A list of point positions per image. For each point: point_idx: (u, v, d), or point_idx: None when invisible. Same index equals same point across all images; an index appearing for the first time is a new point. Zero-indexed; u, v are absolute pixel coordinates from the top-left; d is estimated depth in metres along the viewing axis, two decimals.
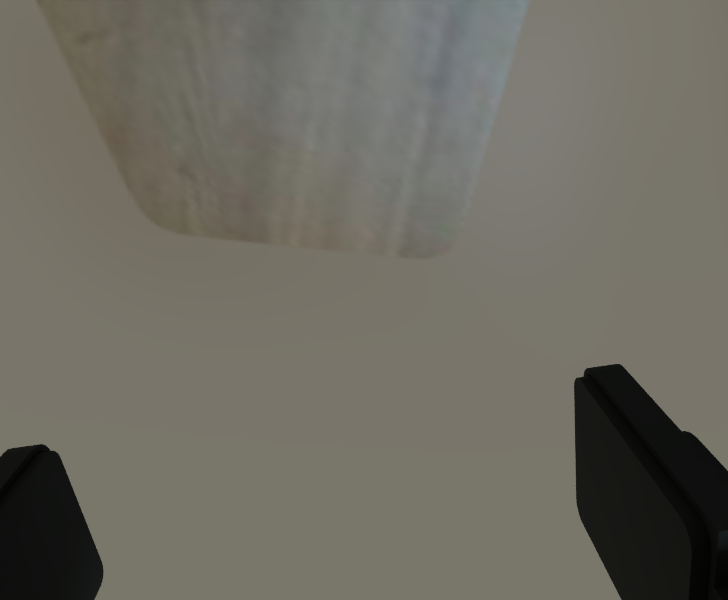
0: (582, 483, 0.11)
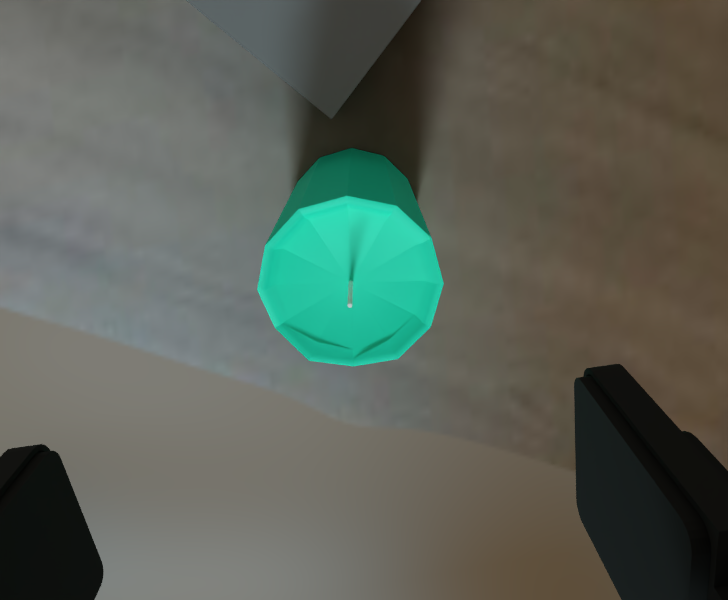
0: (582, 483, 0.11)
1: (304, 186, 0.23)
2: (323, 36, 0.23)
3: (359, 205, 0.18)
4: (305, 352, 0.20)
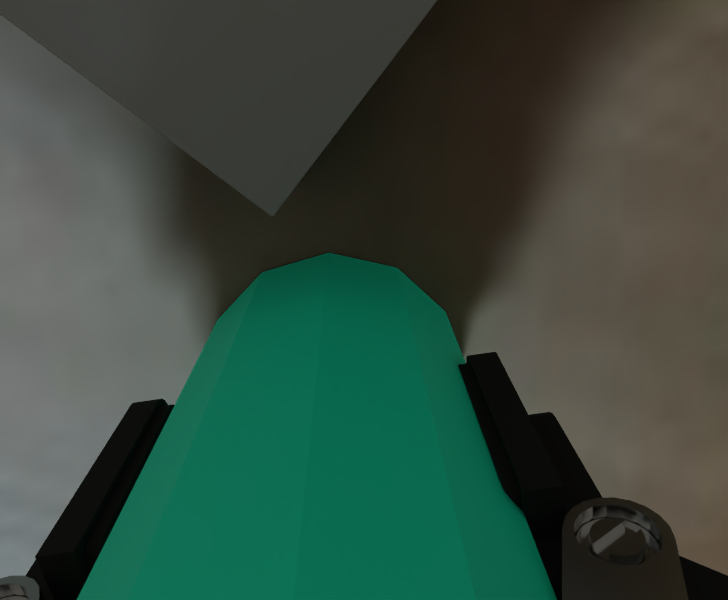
0: None
1: (190, 425, 0.08)
2: (241, 5, 0.09)
3: None
4: None
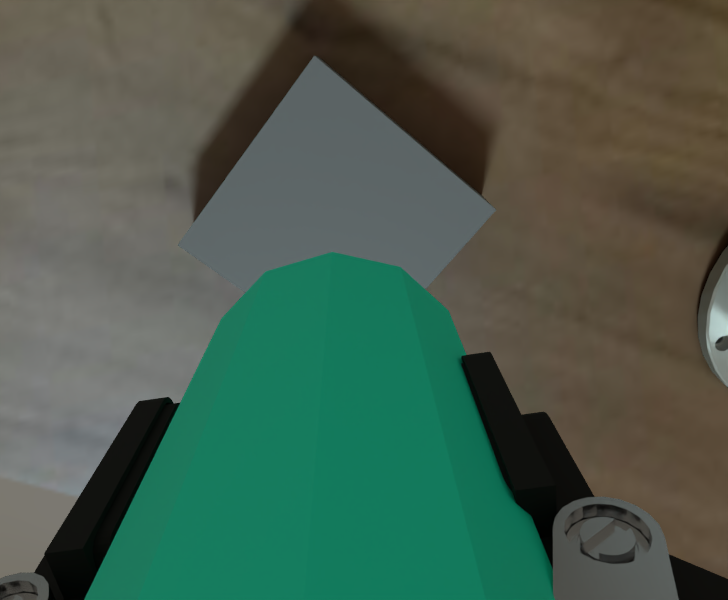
0: None
1: (197, 423, 0.08)
2: None
3: None
4: None
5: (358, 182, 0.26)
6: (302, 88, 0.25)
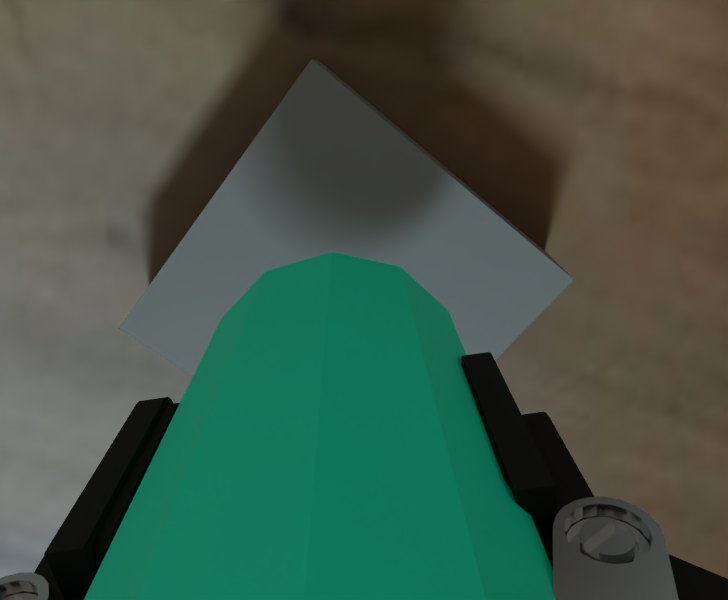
0: None
1: (196, 423, 0.08)
2: None
3: None
4: None
5: (376, 241, 0.18)
6: (293, 107, 0.17)
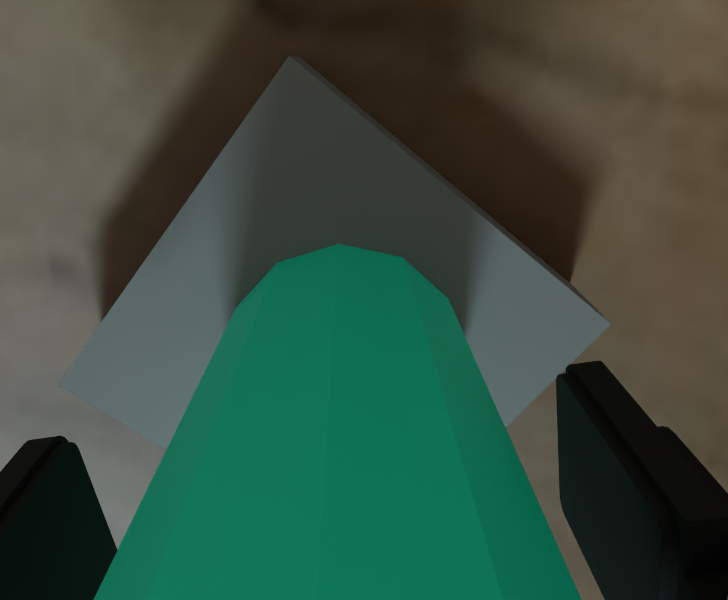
0: (564, 479, 0.11)
1: (220, 387, 0.09)
2: None
3: None
4: None
5: None
6: (267, 116, 0.13)
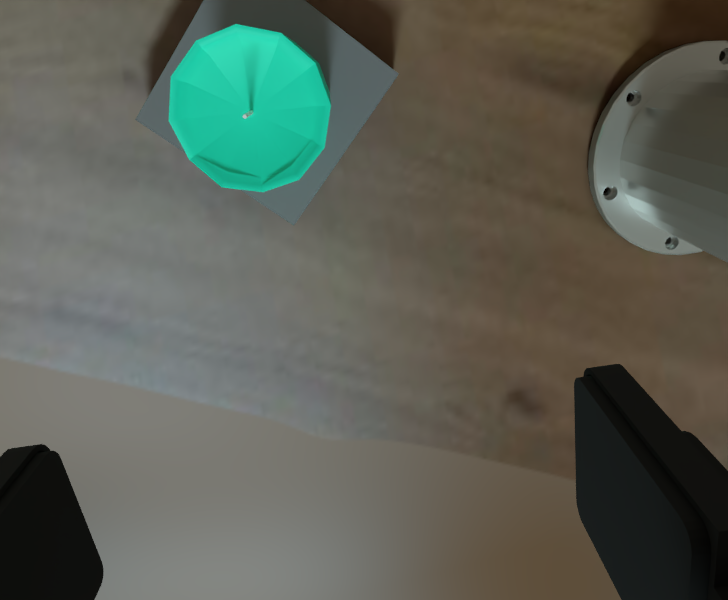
0: (582, 483, 0.11)
1: None
2: None
3: (247, 33, 0.21)
4: (218, 180, 0.23)
5: None
6: None
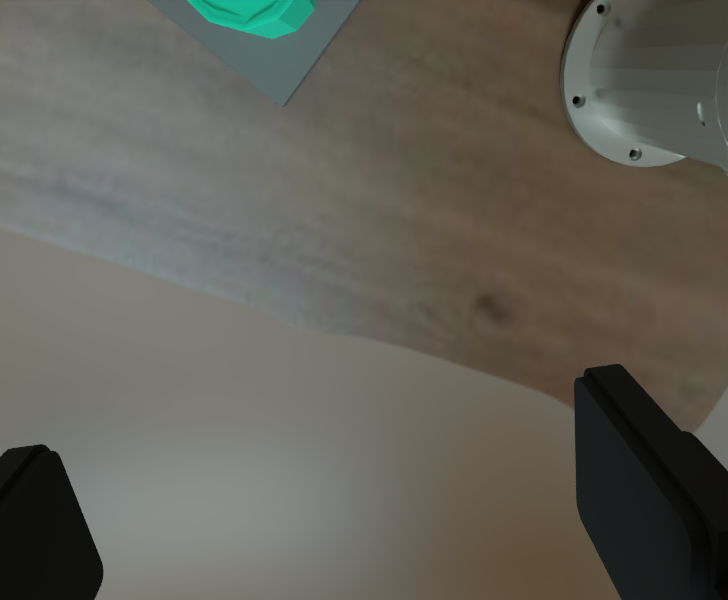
0: (582, 483, 0.11)
1: None
2: (274, 53, 0.36)
3: None
4: (206, 14, 0.26)
5: None
6: None
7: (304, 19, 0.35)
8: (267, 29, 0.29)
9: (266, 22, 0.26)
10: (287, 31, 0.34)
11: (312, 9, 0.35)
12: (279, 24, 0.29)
